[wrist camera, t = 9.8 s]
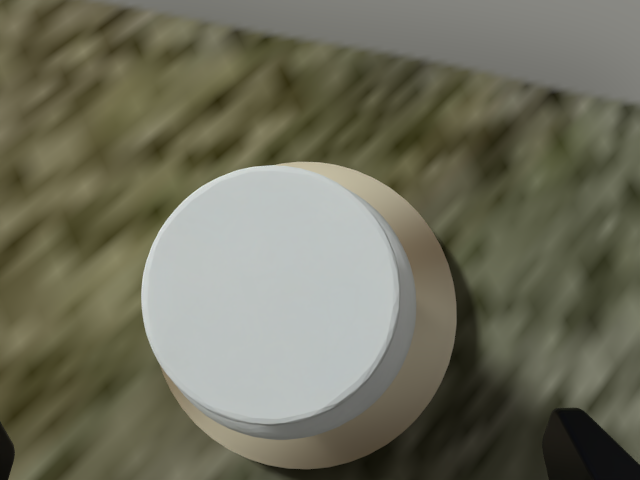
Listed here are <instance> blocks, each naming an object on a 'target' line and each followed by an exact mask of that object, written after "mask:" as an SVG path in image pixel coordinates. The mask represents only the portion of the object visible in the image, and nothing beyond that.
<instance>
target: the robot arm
mask: <svg viewBox="0 0 640 480" xmlns="http://www.w3.org/2000/svg"><path fill="white" fill-rule="evenodd" d="M542 447H543V454H544V459H545V463H546V468H547V472H548V477H549V480H640V465H639V464H638V463H637V462H636V461H635V460H634V459H633V458H632V457H631V456H630V455H629V454H628V453H627V452H626V451H625V450H624V449H623V448H622V447H621V446H620V445H619V444H618V443H617V442H616V441H615V440H613V439H612V438H611V437H610V436H609V435H608V434H607V433H606V432H605V431H604V430H603V429H602V428H601V427H600V426H599V425H598V424H597V423H596V422H595V421H594V420H593V419H592V418H591V417H590V416H589V415H588V414H587V413H586V412H584V411H583V410H581V409H579V408H556V409H554V410H553V411H552V413H551V416H550V419H549V422H548V425H547V428H546V431H545V434H544V437H543V443H542ZM14 455H15V450H14V445H13V443H12V441H11V439H10V438H9V436H8V434H7V432H6V431H5V429H4V427H3V425H2V424H1V422H0V480H8V478H9V475H10V471H11V468H12V465H13V461H14Z"/></svg>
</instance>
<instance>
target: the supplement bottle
mask: <svg viewBox="0 0 640 480" xmlns="http://www.w3.org/2000/svg"><path fill="white" fill-rule="evenodd" d="M141 299H142V313H143V320H144V326H145V330H146V334H147V337H148V340H149V343H150V346H151V348H152V350H153V352H154V354H155V356H156V358H157V360H158V362H159V364H160V365H161V367H162V368H163V370H164V371H165V373H166V374H167V375H168V376H169V378H170V379H171V380H172V381H173V383H174V384H175V385H176V386H177V387H178V388H179V390H180V391H181V392H182V393H183V395H184V396H185V397H186V398H187V399H188V400H189V401H190V402H191V403H192V404H193V405H194V406H195V407H196V408H197V409H198V410H200V411H201V412H202V413H203V414H205V415H206V416H207V417H209V418H210V419H212V420H214V421H215V422H217V423H219V424H221V425H223V426H225V427H227V428H228V429H231V430H234V431H236V432H239V433H242V434H245V435H249V436H252V437H258V438H264V439H272V440H290V439H299V438H305V437H311V436H315V435H318V434H321V433H324V432H327V431H330V430H332V429H334V428H337V427H339V426H341V425H343V424H345V423H346V422H348V421H350V420H352V419H354V418H355V417H357V416H358V415H360V414H361V413H363V412H364V411H365V410H367V409H368V408H369V407H370V406H371V405H372V404H374V403H375V402H376V401H377V400H378V399H379V398H380V397H381V395H382V394H383V393H384V392H385V391H386V390H387V388H388V387H389V386H390V385H391V383H392V382H393V380H394V379H395V377H396V376H397V374H398V372H399V371H400V369H401V367H402V365H403V363H404V361H405V358H406V356H407V353H408V351H409V348H410V345H411V341H412V337H413V333H414V328H415V321H416V290H415V283H414V278H413V273H412V270H411V266H410V263H409V260H408V258H407V255H406V253H405V251H404V249H403V246H402V244H401V242H400V241H399V239H398V237H397V235H396V234H395V232H394V231H393V229H392V228H391V226H390V225H389V224H388V222H387V221H386V220H385V219H384V218H383V216H382V215H381V214H380V213H379V212H378V211H377V210H376V209H374V208H373V207H372V206H371V205H370V204H369V203H368V202H367V201H365V200H364V199H362V198H361V197H359V196H358V195H357V194H355V193H353V192H351V191H350V190H348V189H346V188H345V187H343V186H342V185H340V184H339V183H337V182H335V181H333V180H331V179H329V178H327V177H325V176H323V175H320V174H318V173H315V172H312V171H308V170H305V169H301V168H295V167H289V166H277V165H271V166H257V167H250V168H245V169H241V170H237V171H234V172H231V173H229V174H226V175H223V176H221V177H219V178H217V179H215V180H213V181H211V182H209V183H207V184H205V185H204V186H202V187H200V188H199V189H198V190H196V191H195V192H193V193H192V194H191V195H190V196H189V197H187V198H186V199H185V200H184V201H183V202H182V203H181V204H180V205H179V206H178V207H177V208H176V209H175V211H174V212H173V213H172V214H171V215H170V217H169V218H168V219H167V220H166V222H165V223H164V225H163V226H162V228H161V229H160V231H159V233H158V235H157V237H156V239H155V241H154V243H153V245H152V247H151V250H150V253H149V255H148V258H147V261H146V265H145V269H144V273H143V281H142V293H141Z"/></svg>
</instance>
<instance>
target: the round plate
mask: <svg viewBox="0 0 640 480" xmlns="http://www.w3.org/2000/svg"><path fill="white" fill-rule="evenodd" d="M277 166H289V167H295V168H301V169H305V170H308V171H312V172H315V173H318V174H320V175H323V176H325V177H327V178H329V179H331V180H333V181H335V182H337V183H339V184H340V185H342V186H343V187H345V188H346V189H348V190H350V191H351V192H353V193H355V194H357V195H358V196H359V197H361V198H362V199H364V200H365V201H367V202H368V203H369V204H370V205H371V206H372V207H373V208H374V209H376V210H377V211H378V212H379V213H380V214H381V215H382V216H383V218H384V219H385V220H386V221H387V222H388V224H389V225H390V226H391V228H392V229H393V231H394V232H395V234H396V235H397V237H398V239H399V241H400V242H401V244H402V246H403V249H404V251H405V253H406V255H407V258H408V260H409V263H410V266H411V270H412V273H413V278H414V283H415V290H416V321H415V328H414V333H413V337H412V341H411V345H410V348H409V351H408V353H407V356H406V358H405V361H404V363H403V365H402V367H401V369H400V371H399V372H398V374H397V376H396V377H395V379H394V380H393V382H392V383H391V385H390V386H389V387H388V388H387V390H386V391H385V392H384V393H383V394H382V395H381V397H380V398H379V399H378V400H377V401H376V402H375V403H374V404H372V405H371V406H370V407H369V408H368V409H367V410H365V411H364V412H363V413H361V414H360V415H358V416H357V417H355V418H354V419H352V420H350V421H348V422H346V423H345V424H343V425H341V426H339V427H337V428H334V429H332V430H330V431H327V432H324V433H321V434H318V435H315V436H311V437H305V438H299V439H290V440H272V439H264V438H258V437H252V436H249V435H245V434H242V433H239V432H236V431H234V430H231V429H228V428H227V427H225V426H223V425H221V424H219V423H217V422H215V421H214V420H212V419H210V418H209V417H207V416H206V415H205V414H203V413H202V412H201V411H200V410H198V409H197V408H196V407H195V406H194V405H193V404H192V403H191V402H190V401H189V400H188V399H187V398H186V397H185V396H184V395H183V393H182V392H181V391H180V390H179V388H178V387H177V386H176V385H175V384H174V383H173V381H172V380H171V379H170V378H169V376H168V375H167V374H166V373H165V371H164V370H163V368H162V367H161V369H162V373H163V375H164V377H165V379H166V381H167V383H168V385H169V388H170V390H171V392H172V393H173V395H174V396H175V398H176V399H177V401H178V403H179V404H180V406H181V407H182V409H183V410H184V411H185V412H186V413H187V415H188V416H189V417H190V418H191V419H192V420H193V421H194V423H195V424H196V425H197V426H198V427H200V428H201V429H202V430H203V431H204V432H205V433H206V434H207V435H209V436H210V437H211V438H212V439H214V440H215V441H217V442H218V443H220V444H221V445H223V446H224V447H226V448H227V449H229V450H231V451H233V452H235V453H237V454H239V455H241V456H243V457H245V458H247V459H250V460H253V461H256V462H260V463H263V464H266V465H270V466H276V467H281V468H287V469H317V468H327V467H332V466H336V465H340V464H345V463H349V462H351V461H354V460H356V459H359V458H362V457H364V456H367V455H369V454H371V453H373V452H374V451H376V450H378V449H380V448H382V447H383V446H385V445H387V444H388V443H389V442H391V441H392V440H393V439H395V438H396V437H397V436H399V435H400V434H401V433H403V432H404V431H405V430H406V429H407V428H408V427H409V426H410V425H411V424H412V423H413V422H414V421H415V420H416V419H417V418H418V417H419V416H420V414H421V413H422V412H423V410H424V409H425V408H426V406H427V405H428V404H429V403H430V401H431V400H432V398H433V396H434V394H435V393H436V391H437V389H438V387H439V386H440V384H441V382H442V379H443V377H444V375H445V372H446V370H447V367H448V365H449V361H450V358H451V354H452V350H453V346H454V340H455V332H456V324H457V313H456V297H455V290H454V283H453V279H452V276H451V272H450V268H449V265H448V262H447V260H446V257H445V255H444V253H443V250H442V248H441V246H440V244H439V242H438V240H437V239H436V237H435V235H434V234H433V232H432V230H431V229H430V227H429V226H428V225H427V223H426V222H425V221H424V219H423V218H422V217H421V216H420V214H419V213H418V212H417V211H416V210H415V209H414V208H413V207H412V206H411V205H410V204H409V203H408V202H407V201H406V200H405V199H404V198H402V197H401V196H400V195H399V194H397V193H396V192H395V191H393V190H392V189H391V188H389V187H388V186H386V185H384V184H383V183H381V182H379V181H378V180H376V179H374V178H372V177H370V176H367V175H365V174H363V173H360V172H358V171H356V170H352V169H349V168H345V167H342V166H338V165H333V164H326V163H319V162H293V163H284V164H277ZM160 366H161V365H160Z"/></svg>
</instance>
